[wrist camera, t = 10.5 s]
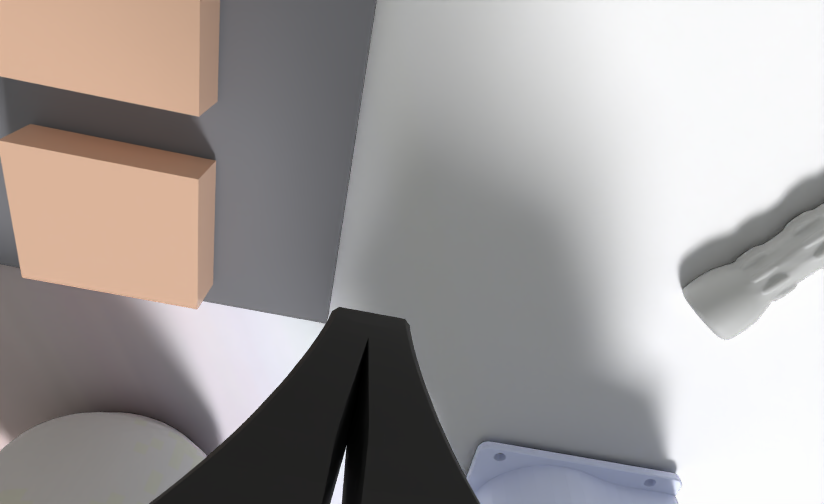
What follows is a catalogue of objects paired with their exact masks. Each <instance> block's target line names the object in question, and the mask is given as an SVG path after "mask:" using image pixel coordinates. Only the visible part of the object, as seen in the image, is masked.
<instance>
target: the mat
mask: <svg viewBox="0 0 824 504" xmlns="http://www.w3.org/2000/svg"><path fill="white" fill-rule="evenodd" d="M376 1H377V0H220V23H219V64H218V102H216V103H215V104H214V105H213V106H211V107H210V108H209V109H208V110H207V111H205V112H204V113H203V114H202V115H200V116H199V117H198V116H193V115H188V114H183V113H179V112H174V111H169V110H164V109H159V108H154V107H149V106H144V105H139V104H134V103H129V102H124V101H119V100H114V99H109V98H104V97H99V96H95V95H90V94H85V93H80V92H75V91H70V90H65V89H60V88H55V87H50V86H45V85H40V84H35V83H30V82H25V81H20V80H16V79H11V78H6V77H1V76H0V139H1V138H3V137H5V136H7V135H9V134H11V133H13V132H15V131H17V130H19V129H21V128H23V127H25V126H27V125H29V124H34V125H39V126H44V127H49V128H54V129H59V130H64V131H69V132H74V133H79V134H84V135H89V136H94V137H99V138H104V139H110V140H115V141H120V142H125V143H130V144H135V145H140V146H145V147H150V148H155V149H160V150H165V151H170V152H175V153H180V154H185V155H190V156H195V157H200V158H205V159H211V160H216V186H215V227H214V267H213V285H212V287H211V288H210V290H209V291H208V293H207V295H206V296H205V298H204V300H203V301H206V302H211V303H217V304H222V305H227V306H233V307H238V308H244V309H249V310H255V311H260V312H266V313H271V314H277V315H282V316H288V317H293V318H299V319H304V320H310V321H315V322H321V323H326V322H327V319H328V314H329V307H330V301H331V294H332V288H333V281H334V275H335V268H336V262H337V255H338V249H339V242H340V236H341V229H342V223H343V216H344V209H345V203H346V196H347V190H348V183H349V177H350V170H351V164H352V157H353V151H354V144H355V138H356V131H357V125H358V118H359V112H360V105H361V99H362V92H363V86H364V79H365V73H366V66H367V60H368V53H369V46H370V40H371V33H372V27H373V20H374V14H375V7H376ZM0 264H2V265H8V266H13V267H19V268H20V264H19V258H18V252H17V247H16V241H15V236H14V230H13V225H12V219H11V213H10V208H9V202H8V197H7V191H6V185H5V180H4V174H3V169H2V163H1V157H0Z"/></svg>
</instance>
